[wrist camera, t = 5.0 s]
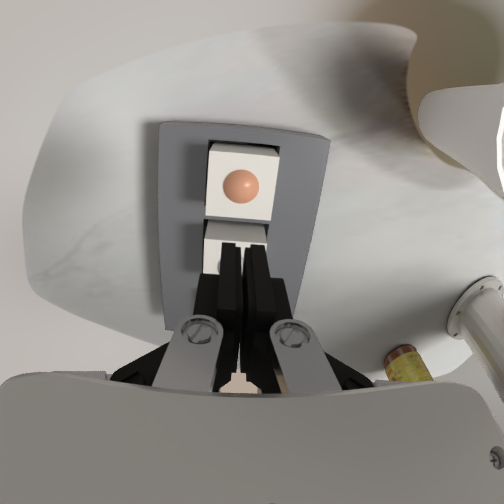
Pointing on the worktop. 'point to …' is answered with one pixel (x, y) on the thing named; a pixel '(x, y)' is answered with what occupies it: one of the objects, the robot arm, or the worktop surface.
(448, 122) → the foam cup
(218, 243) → the plain key
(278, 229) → the slotted grey tray
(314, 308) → the worktop surface
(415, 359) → the sauce bottle
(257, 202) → the dot key
